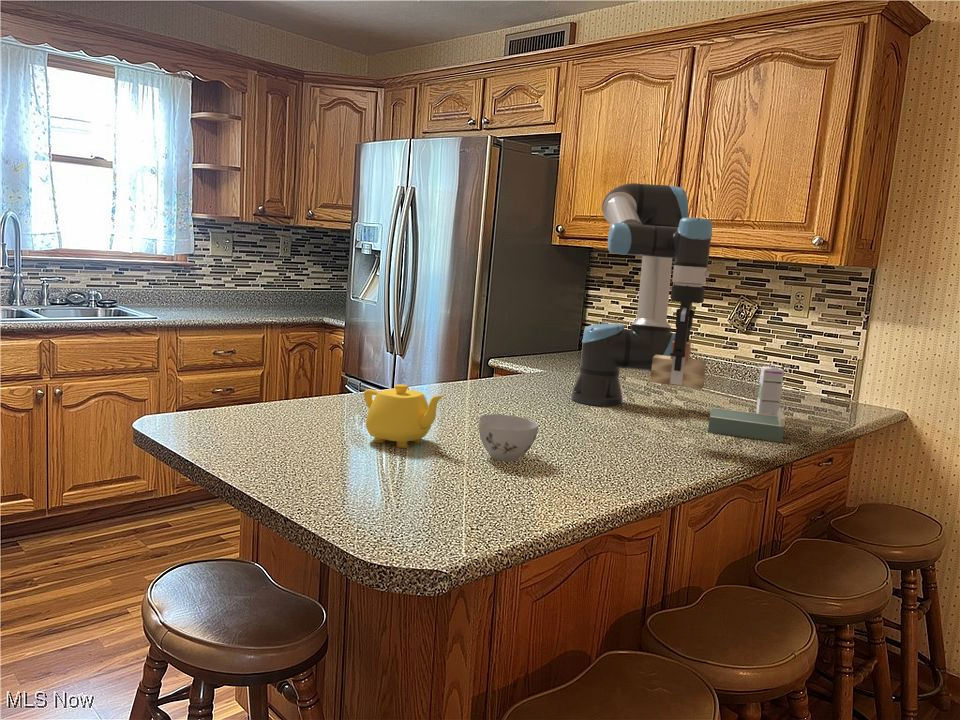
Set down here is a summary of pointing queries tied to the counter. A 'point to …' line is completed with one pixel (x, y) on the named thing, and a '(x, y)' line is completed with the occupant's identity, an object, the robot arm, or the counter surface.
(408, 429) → the teapot
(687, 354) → the orange cube
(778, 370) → the syrup box
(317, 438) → the counter surface
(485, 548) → the counter surface
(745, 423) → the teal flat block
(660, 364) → the tan rectangular block
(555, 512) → the counter surface
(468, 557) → the counter surface
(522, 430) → the teacup
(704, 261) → the robot arm
